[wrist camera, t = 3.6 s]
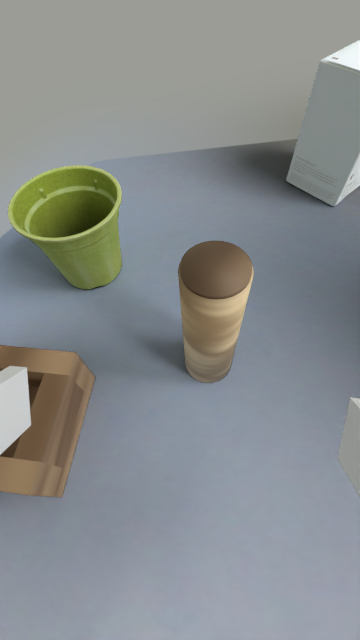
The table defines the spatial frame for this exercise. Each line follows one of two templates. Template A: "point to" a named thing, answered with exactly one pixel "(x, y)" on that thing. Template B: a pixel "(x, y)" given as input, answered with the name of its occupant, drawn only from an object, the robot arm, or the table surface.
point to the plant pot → (73, 222)
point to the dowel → (212, 306)
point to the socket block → (46, 420)
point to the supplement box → (331, 130)
